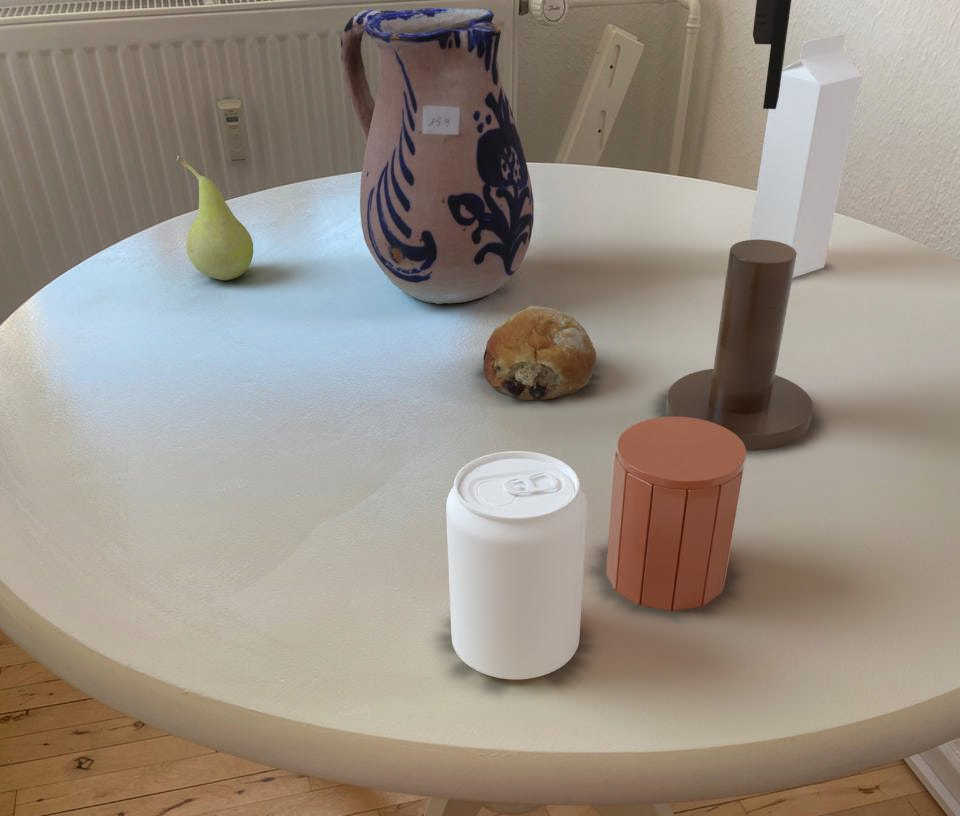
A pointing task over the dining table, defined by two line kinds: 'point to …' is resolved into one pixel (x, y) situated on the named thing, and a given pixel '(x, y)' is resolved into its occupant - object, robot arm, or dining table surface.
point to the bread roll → (539, 355)
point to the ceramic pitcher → (439, 153)
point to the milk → (806, 152)
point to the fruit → (217, 235)
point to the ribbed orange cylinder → (673, 511)
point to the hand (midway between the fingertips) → (885, 107)
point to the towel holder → (749, 355)
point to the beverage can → (516, 563)
